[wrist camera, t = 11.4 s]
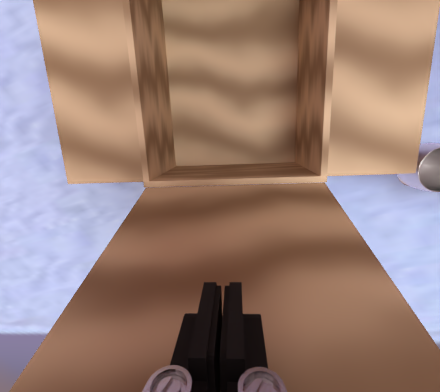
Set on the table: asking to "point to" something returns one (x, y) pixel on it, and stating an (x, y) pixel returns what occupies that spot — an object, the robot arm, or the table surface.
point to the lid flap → (251, 295)
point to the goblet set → (425, 169)
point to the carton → (237, 88)
